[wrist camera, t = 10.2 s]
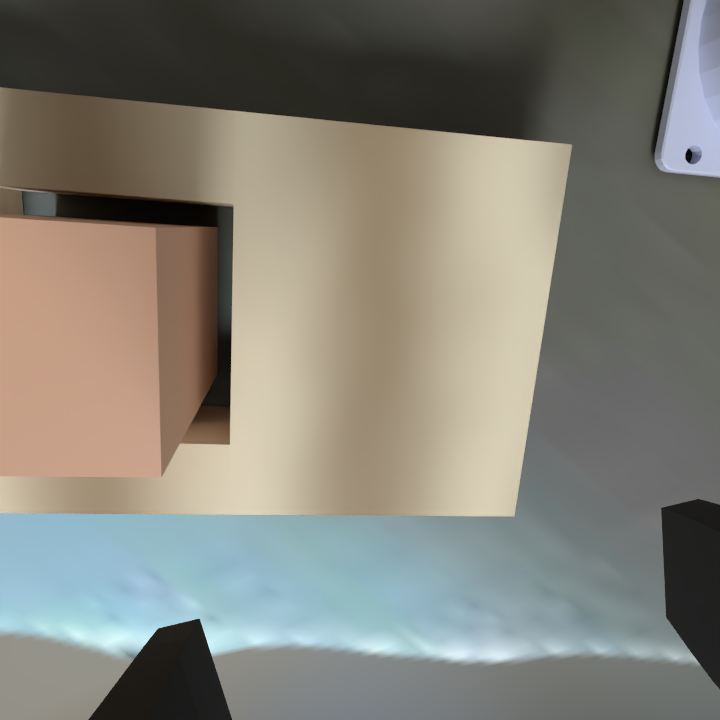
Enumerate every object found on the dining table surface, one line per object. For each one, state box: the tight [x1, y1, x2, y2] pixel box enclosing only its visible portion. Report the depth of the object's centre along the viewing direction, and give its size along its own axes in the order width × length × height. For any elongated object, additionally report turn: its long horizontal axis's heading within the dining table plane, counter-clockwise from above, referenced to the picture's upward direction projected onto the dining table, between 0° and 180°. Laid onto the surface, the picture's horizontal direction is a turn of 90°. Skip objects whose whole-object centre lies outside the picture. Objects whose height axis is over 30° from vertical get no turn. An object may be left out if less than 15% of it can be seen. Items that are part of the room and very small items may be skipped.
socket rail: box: [0, 87, 572, 516], centre depth 14 cm, size 22×10×3 cm, turn 86°
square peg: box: [0, 214, 218, 478], centre depth 12 cm, size 4×4×7 cm
